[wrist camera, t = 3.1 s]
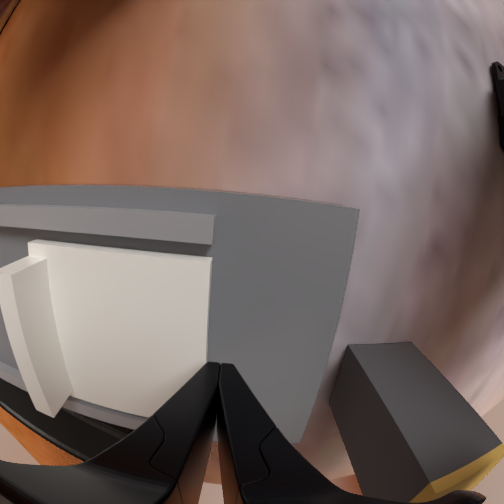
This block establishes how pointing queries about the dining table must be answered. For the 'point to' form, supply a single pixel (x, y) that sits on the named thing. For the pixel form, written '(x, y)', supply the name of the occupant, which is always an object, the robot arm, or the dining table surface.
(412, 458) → the plug
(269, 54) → the dining table surface
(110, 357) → the shutter
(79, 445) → the phone
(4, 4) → the candy box
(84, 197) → the socket plate
